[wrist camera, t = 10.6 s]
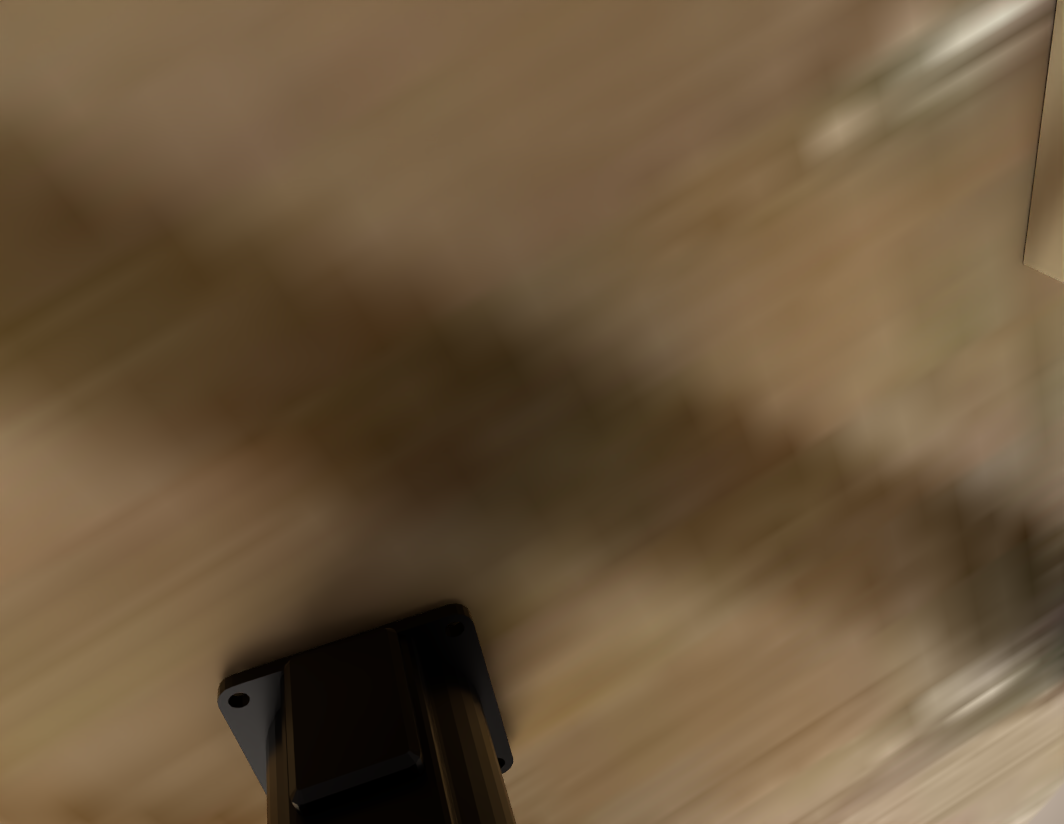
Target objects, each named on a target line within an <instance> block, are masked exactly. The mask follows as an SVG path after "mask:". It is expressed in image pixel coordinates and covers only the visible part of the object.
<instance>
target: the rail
mask: <svg viewBox="0 0 1064 824" xmlns="http://www.w3.org/2000/svg"><path fill="white" fill-rule="evenodd" d="M1023 264H1024V265H1027V266H1029V267H1031V268H1033V269H1035V270H1037V271H1039V272H1041V273H1043V274H1045V275H1048V276H1050V277H1052V278H1054V279H1056V280H1058V281H1060V282H1062V283H1064V0H1057V7H1056V15H1055V22H1054V30H1053V38H1052V46H1051V53H1050V61H1049V69H1048V77H1047V84H1046V92H1045V100H1044V107H1043V115H1042V123H1041V131H1040V138H1039V146H1038V154H1037V162H1036V169H1035V177H1034V185H1033V192H1032V200H1031V208H1030V216H1029V223H1028V231H1027V239H1026V246H1025V254H1024V262H1023Z"/></svg>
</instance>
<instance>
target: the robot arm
mask: <svg viewBox="0 0 1064 824" xmlns="http://www.w3.org/2000/svg"><path fill="white" fill-rule="evenodd" d="M452 622H459V623H458V624H456V625H455V626H447V625H448V624H450V623H452ZM235 693H245V694H244V695H241V696H235V695H233V694H235ZM217 702H218V706H219V709H220V710H221V712H222V714H223V716H224V718H225V720H226V721H227V723H228V725H229V727H230V729H231V731H232V732H233V734H234V736H235V738H236V740H237V742H238V743H239V745H240V747H241V749H242V751H243V753H244V754H245V756H246V758H247V760H248V762H249V764H250V765H251V767H252V769H253V771H254V773H255V775H256V776H257V778H258V780H259V782H260V784H261V786H262V788H263V789H264V791H265V793H266V795H267V824H516V822H515V818H514V815H513V811H512V808H511V804H510V801H509V797H508V794H507V790H506V787H505V784H504V780H503V777H502V774H503V773H505V772H506V771H507V770H509V769H510V768H511V766H512V764H513V756H512V753H511V749H510V746H509V743H508V739H507V736H506V732H505V729H504V726H503V722H502V719H501V715H500V712H499V708H498V705H497V702H496V698H495V695H494V691H493V688H492V685H491V681H490V678H489V674H488V671H487V667H486V664H485V661H484V657H483V654H482V650H481V647H480V644H479V640H478V637H477V633H476V630H475V626H474V623H473V620H472V617H471V613H470V611H469V610H468V608H467V607H465V606H463V605H461V604H450V605H445V606H442V607H439V608H436V609H433V610H430V611H427V612H424V613H421V614H418V615H415V616H412V617H409V618H405V619H402V620H399V621H396V622H393V623H390V624H387V625H384V626H381V627H378V628H375V629H372V630H369V631H365V632H362V633H359V634H356V635H353V636H350V637H347V638H344V639H341V640H338V641H335V642H332V643H329V644H325V645H322V646H319V647H316V648H313V649H310V650H307V651H304V652H301V653H298V654H295V655H292V656H289V657H285V658H282V659H279V660H276V661H273V662H270V663H267V664H264V665H261V666H258V667H255V668H252V669H249V670H245V671H242V672H239V673H236V674H233V675H231V676H229V677H227V678H225V679H224V680H223V681H222V682H221V683H220V685H219V688H218V701H217Z"/></svg>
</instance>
